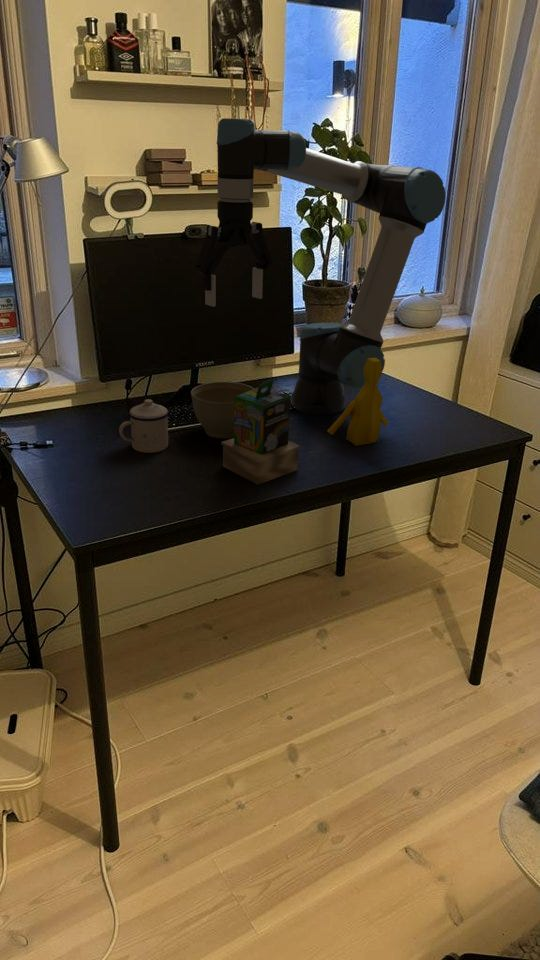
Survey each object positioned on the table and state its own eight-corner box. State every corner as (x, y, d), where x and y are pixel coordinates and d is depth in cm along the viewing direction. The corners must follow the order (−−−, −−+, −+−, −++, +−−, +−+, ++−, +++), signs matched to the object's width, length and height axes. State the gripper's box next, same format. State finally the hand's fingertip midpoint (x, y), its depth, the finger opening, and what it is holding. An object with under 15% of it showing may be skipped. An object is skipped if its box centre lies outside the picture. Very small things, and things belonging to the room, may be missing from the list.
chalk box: (259, 432, 169) (260, 371, 162) (289, 443, 164) (292, 380, 157) (231, 444, 163) (232, 380, 156) (262, 455, 157) (264, 390, 151)
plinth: (262, 452, 174) (263, 429, 171) (299, 470, 165) (300, 445, 163) (221, 466, 166) (221, 441, 163) (257, 485, 158) (258, 460, 155)
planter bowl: (238, 417, 194) (239, 378, 190) (266, 438, 182) (267, 397, 177) (182, 426, 187) (181, 385, 183) (207, 449, 175) (206, 406, 170)
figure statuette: (381, 431, 188) (390, 348, 179) (399, 442, 182) (409, 357, 172) (322, 441, 181) (328, 355, 171) (338, 453, 175) (345, 364, 165)
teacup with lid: (159, 436, 181) (158, 391, 176) (175, 449, 174) (174, 403, 169) (113, 445, 175) (110, 399, 170) (128, 459, 168) (125, 411, 163)
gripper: (266, 196, 163) (264, 291, 173) (176, 200, 148) (179, 305, 157) (290, 199, 159) (286, 297, 168) (199, 204, 143) (200, 312, 152)
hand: (234, 301), depth 163 cm, fingers open, 13 cm apart
